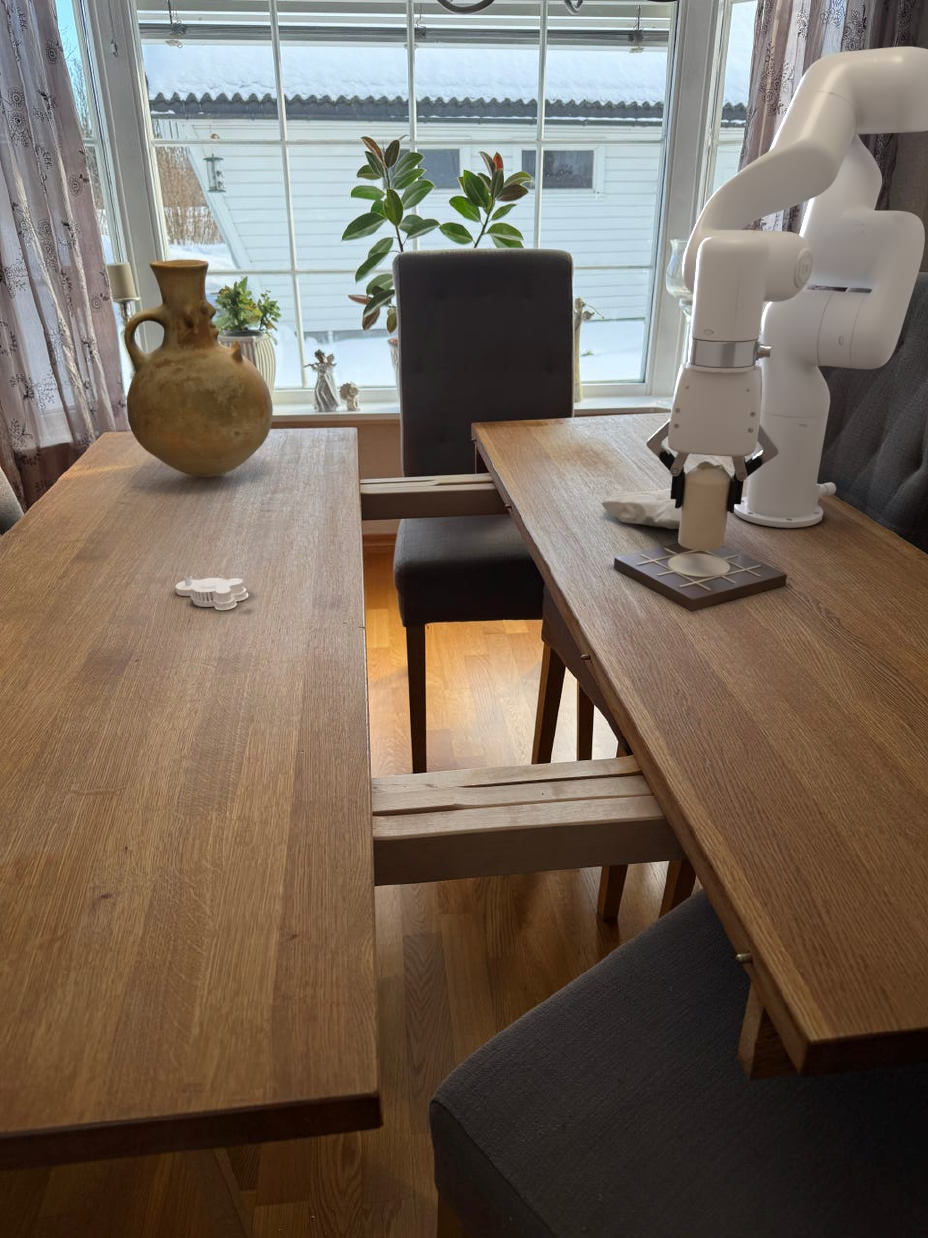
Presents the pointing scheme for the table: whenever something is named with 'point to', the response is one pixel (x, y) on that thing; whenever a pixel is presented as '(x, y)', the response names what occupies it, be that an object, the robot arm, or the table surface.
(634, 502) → the rock
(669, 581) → the board
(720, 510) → the candle
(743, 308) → the robot arm
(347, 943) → the table surface
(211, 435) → the vase
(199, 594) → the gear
